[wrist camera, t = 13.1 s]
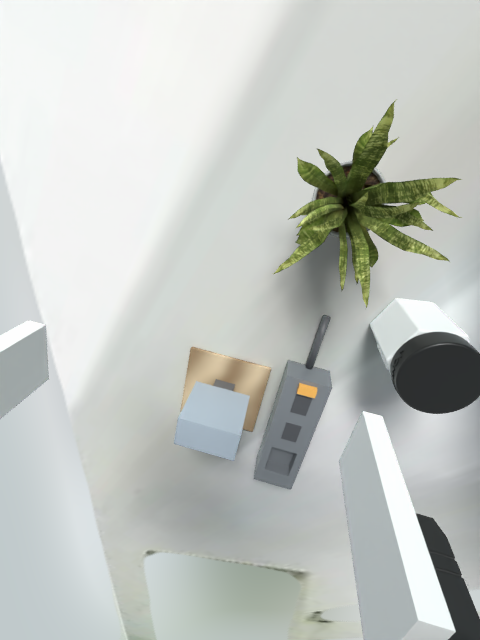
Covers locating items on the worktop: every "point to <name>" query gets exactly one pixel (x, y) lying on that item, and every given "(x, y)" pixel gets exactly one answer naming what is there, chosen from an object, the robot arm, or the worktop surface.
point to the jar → (427, 356)
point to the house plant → (363, 206)
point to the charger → (212, 419)
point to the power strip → (294, 418)
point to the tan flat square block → (228, 378)
